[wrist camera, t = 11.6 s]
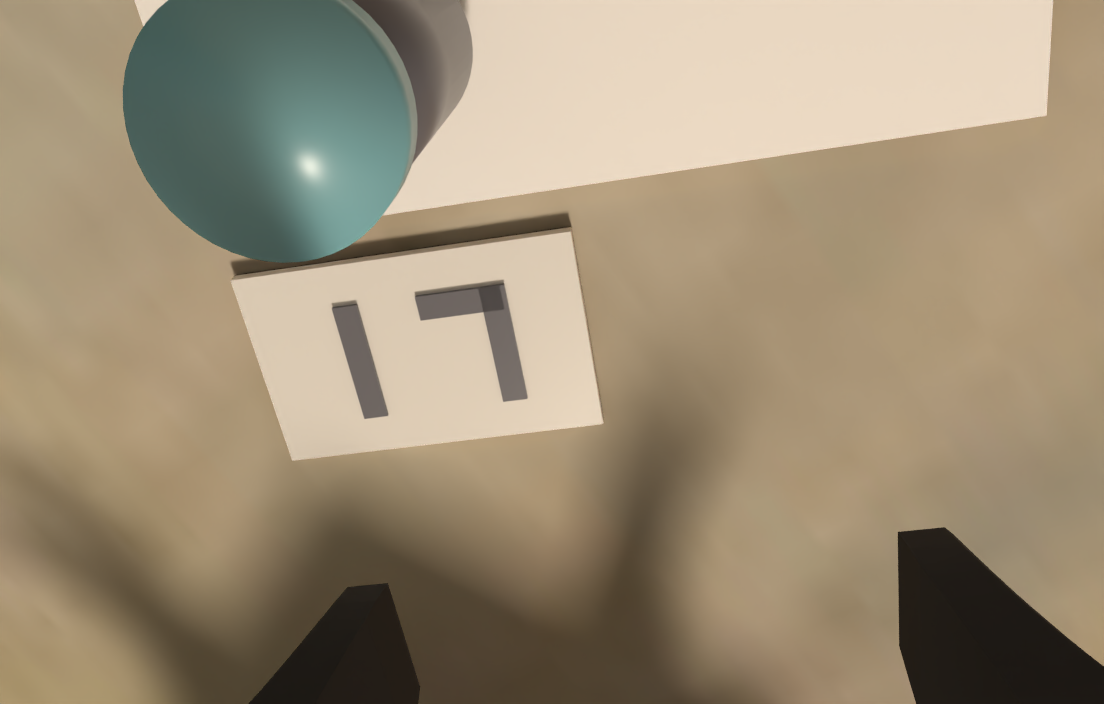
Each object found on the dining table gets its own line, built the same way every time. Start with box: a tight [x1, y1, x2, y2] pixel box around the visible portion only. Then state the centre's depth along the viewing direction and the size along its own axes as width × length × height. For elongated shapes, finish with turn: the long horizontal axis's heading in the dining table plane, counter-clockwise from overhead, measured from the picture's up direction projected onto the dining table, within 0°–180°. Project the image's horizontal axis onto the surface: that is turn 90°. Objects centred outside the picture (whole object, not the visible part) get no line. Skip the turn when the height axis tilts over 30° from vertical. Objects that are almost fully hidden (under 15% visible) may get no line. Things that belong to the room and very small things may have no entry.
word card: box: [231, 227, 603, 461], centre depth 23 cm, size 8×5×1 cm, turn 100°
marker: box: [123, 0, 473, 263], centre depth 16 cm, size 4×4×8 cm
